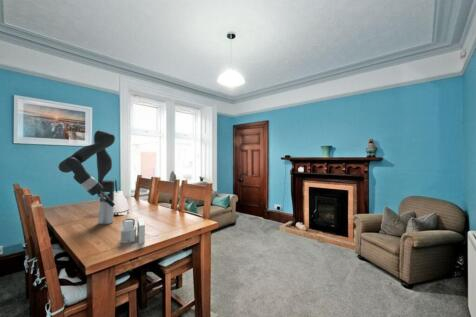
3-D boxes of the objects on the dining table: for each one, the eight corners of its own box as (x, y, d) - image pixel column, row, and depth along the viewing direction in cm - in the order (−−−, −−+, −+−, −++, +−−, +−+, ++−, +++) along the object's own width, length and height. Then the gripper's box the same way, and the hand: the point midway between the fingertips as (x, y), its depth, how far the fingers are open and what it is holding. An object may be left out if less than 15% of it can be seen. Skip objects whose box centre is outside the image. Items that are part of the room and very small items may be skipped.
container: (122, 238, 136) (122, 218, 136) (135, 237, 139) (136, 217, 139) (120, 243, 129) (121, 222, 128) (134, 241, 131) (135, 220, 131)
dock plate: (139, 243, 129) (139, 225, 128) (137, 233, 144) (137, 217, 144) (144, 242, 130) (144, 225, 130) (142, 233, 146) (142, 217, 146)
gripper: (98, 182, 122) (120, 203, 129) (97, 180, 132) (117, 199, 139) (86, 191, 118) (109, 212, 125) (85, 188, 129) (107, 208, 136)
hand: (113, 205), depth 132 cm, fingers closed
